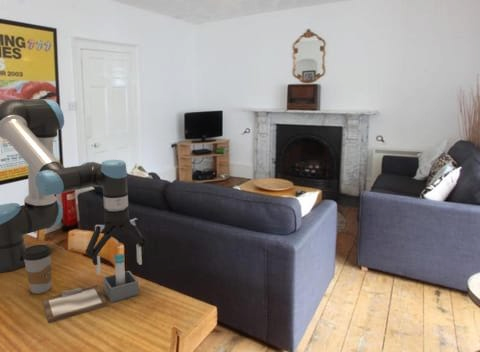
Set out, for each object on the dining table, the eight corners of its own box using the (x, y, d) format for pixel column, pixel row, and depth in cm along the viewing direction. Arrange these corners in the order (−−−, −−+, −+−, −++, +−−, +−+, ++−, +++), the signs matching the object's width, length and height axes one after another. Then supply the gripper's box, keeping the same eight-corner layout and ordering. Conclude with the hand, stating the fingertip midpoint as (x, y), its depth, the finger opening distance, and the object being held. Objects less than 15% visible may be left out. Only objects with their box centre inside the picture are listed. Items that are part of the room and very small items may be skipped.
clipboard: (42, 302, 118) (42, 296, 118) (97, 288, 128) (97, 282, 127) (48, 323, 108) (47, 317, 107) (107, 305, 117) (107, 300, 117)
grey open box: (103, 290, 126) (102, 277, 125) (130, 283, 131) (129, 270, 130) (111, 303, 119) (110, 289, 117) (138, 294, 124) (138, 281, 123)
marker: (114, 290, 125) (113, 255, 123) (124, 288, 127) (122, 253, 124) (117, 294, 122) (115, 258, 120) (127, 292, 124) (125, 256, 122)
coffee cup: (42, 297, 121) (38, 255, 118) (21, 294, 123) (16, 252, 120) (59, 284, 129) (56, 245, 126) (39, 281, 131) (35, 242, 128)
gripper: (77, 217, 108) (82, 282, 113) (157, 204, 122) (159, 263, 127) (72, 210, 114) (77, 272, 119) (149, 199, 128) (151, 255, 133)
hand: (119, 268), depth 123 cm, fingers open, 13 cm apart
